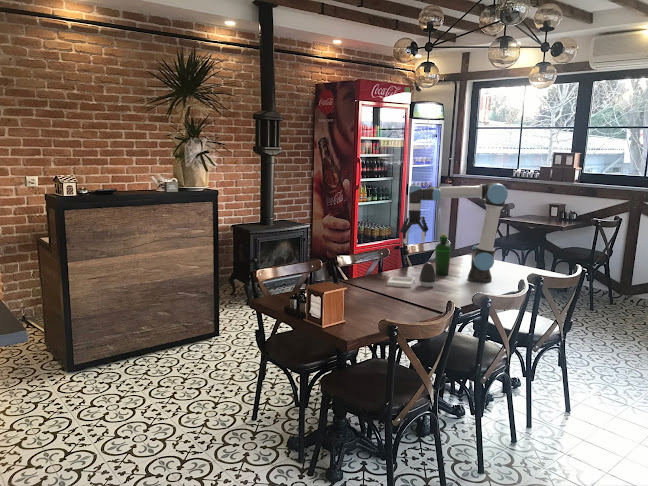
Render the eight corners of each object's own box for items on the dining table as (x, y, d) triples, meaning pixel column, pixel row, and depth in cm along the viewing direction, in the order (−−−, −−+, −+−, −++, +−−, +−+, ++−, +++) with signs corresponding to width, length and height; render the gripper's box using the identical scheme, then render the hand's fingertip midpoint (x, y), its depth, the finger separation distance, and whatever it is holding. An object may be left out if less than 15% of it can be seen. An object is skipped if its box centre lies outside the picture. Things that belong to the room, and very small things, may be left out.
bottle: (452, 273, 362) (454, 233, 357) (446, 277, 353) (448, 236, 348) (437, 271, 367) (439, 232, 362) (431, 274, 358) (433, 234, 353)
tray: (414, 281, 340) (414, 278, 339) (411, 287, 326) (411, 283, 325) (391, 280, 344) (391, 276, 344) (387, 285, 330) (387, 281, 330)
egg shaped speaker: (434, 284, 335) (435, 260, 332) (436, 288, 324) (437, 264, 322) (418, 283, 336) (419, 260, 333) (419, 287, 325) (420, 264, 323)
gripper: (427, 207, 340) (426, 240, 344) (394, 210, 330) (394, 243, 333) (434, 209, 333) (433, 241, 337) (401, 211, 323) (400, 245, 327)
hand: (414, 242), depth 335 cm, fingers open, 13 cm apart
